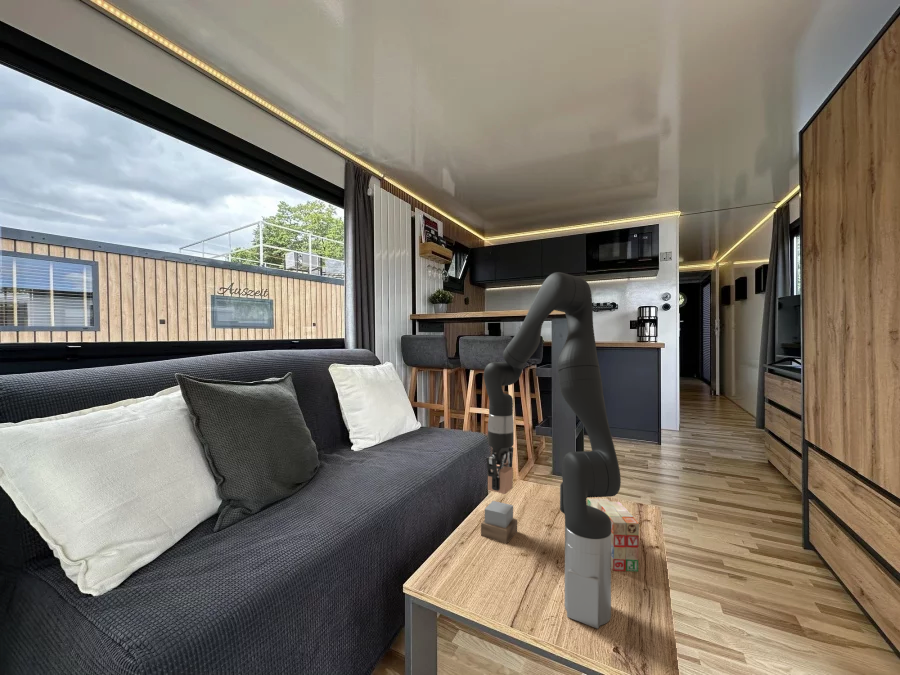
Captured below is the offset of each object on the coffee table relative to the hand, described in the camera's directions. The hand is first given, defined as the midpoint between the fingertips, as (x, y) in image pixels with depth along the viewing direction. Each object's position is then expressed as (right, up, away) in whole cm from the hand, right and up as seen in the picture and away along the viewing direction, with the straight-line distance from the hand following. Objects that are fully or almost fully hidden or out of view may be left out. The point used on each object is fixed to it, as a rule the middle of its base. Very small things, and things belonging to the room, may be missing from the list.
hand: (500, 486), depth 111 cm
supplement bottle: (+25, -14, +14) cm, 33 cm away
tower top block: (0, -10, 0) cm, 10 cm away
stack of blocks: (+29, -14, -8) cm, 33 cm away
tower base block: (0, -14, 0) cm, 14 cm away
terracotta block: (0, -1, 0) cm, 1 cm away
